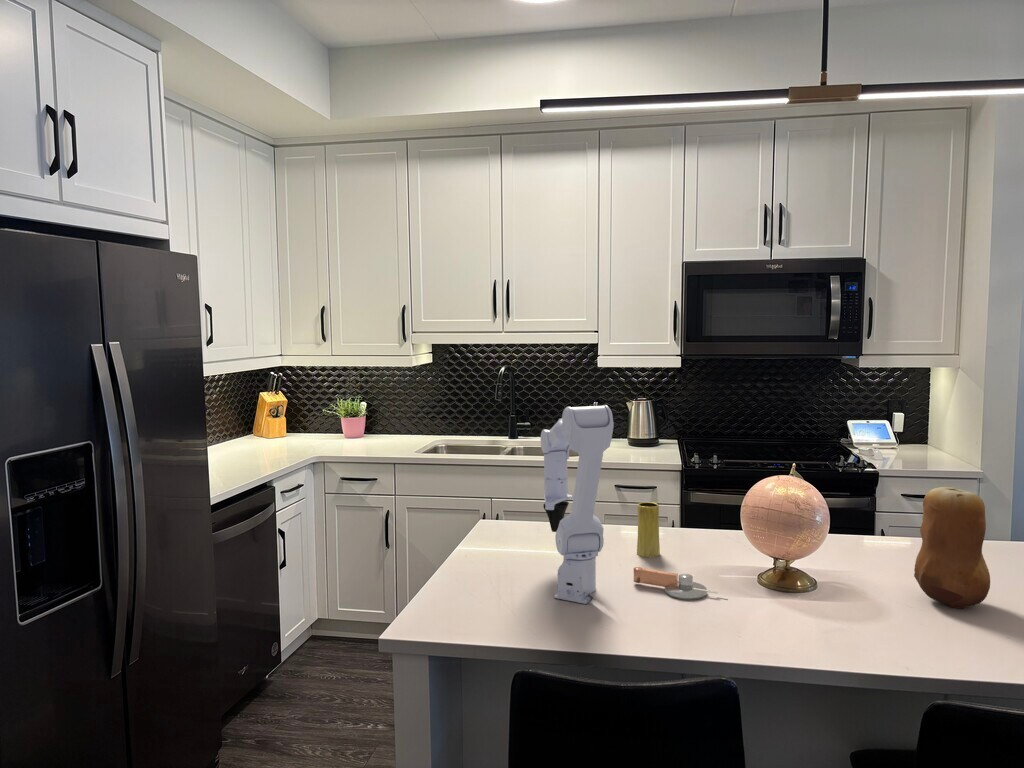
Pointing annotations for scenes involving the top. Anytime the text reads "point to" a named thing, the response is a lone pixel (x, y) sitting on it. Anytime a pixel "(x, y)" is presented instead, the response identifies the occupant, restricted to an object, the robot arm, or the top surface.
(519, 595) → the top surface
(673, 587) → the pizza cutter
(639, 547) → the vase
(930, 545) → the butternut squash
